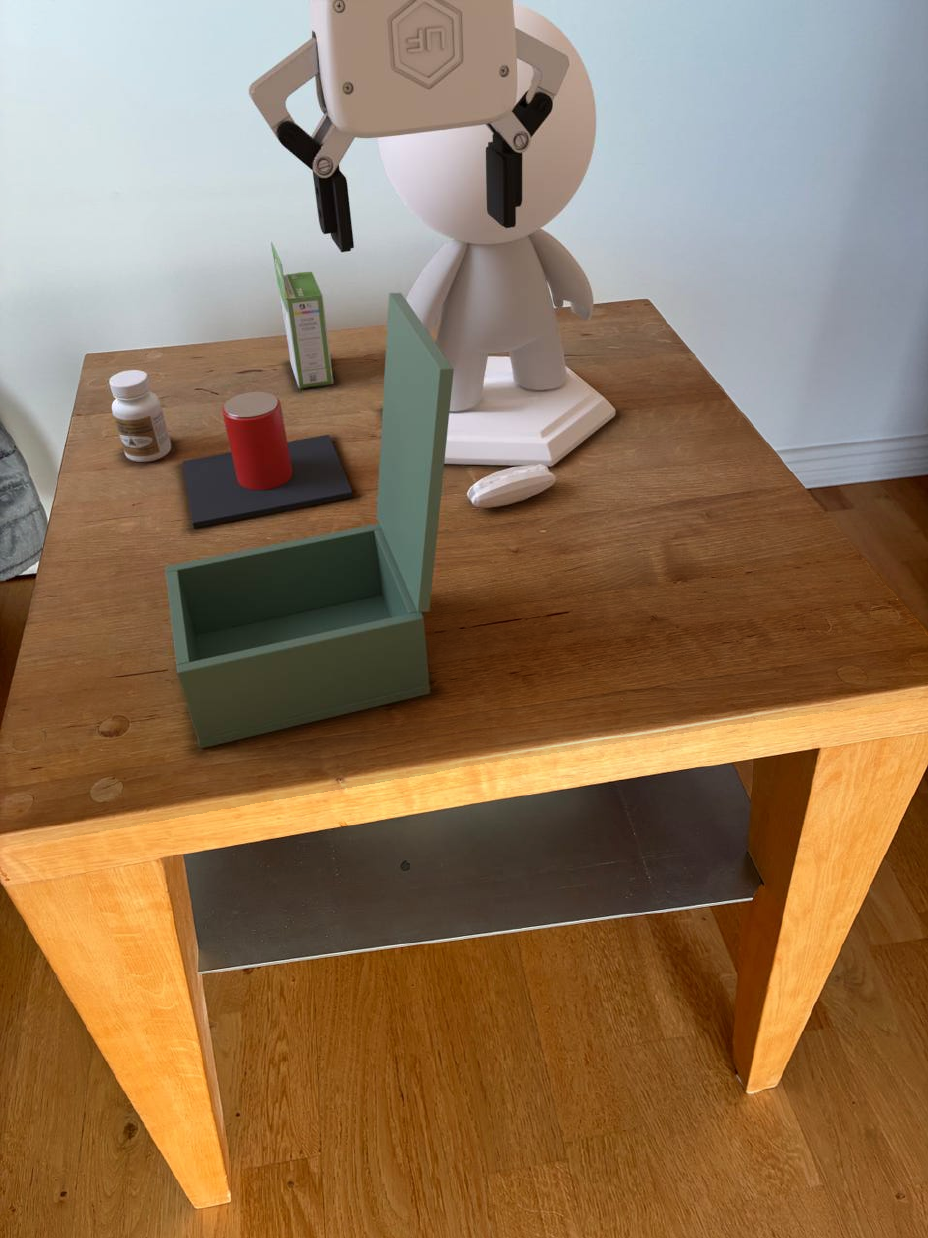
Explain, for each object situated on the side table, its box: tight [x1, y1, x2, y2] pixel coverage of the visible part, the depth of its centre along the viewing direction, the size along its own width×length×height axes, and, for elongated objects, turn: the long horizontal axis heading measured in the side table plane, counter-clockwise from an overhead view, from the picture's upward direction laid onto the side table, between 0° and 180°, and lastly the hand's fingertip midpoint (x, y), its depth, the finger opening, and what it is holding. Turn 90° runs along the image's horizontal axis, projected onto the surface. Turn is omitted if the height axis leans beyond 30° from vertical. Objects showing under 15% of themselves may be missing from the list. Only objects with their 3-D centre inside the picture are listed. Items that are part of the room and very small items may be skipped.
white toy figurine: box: [377, 2, 616, 468], centre depth 86 cm, size 20×23×35 cm
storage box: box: [164, 522, 431, 749], centre depth 67 cm, size 16×12×7 cm
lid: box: [376, 292, 454, 613], centre depth 61 cm, size 16×12×1 cm
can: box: [221, 391, 292, 490], centre depth 86 cm, size 5×5×7 cm
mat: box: [182, 434, 354, 529], centre depth 89 cm, size 14×11×1 cm
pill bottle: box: [109, 369, 172, 463], centre depth 91 cm, size 4×4×8 cm
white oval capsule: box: [466, 464, 557, 509], centre depth 84 cm, size 3×8×3 cm, turn 115°
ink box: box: [270, 241, 335, 389], centre depth 101 cm, size 7×4×13 cm, turn 15°
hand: (423, 232), depth 56 cm, fingers open, 9 cm apart
